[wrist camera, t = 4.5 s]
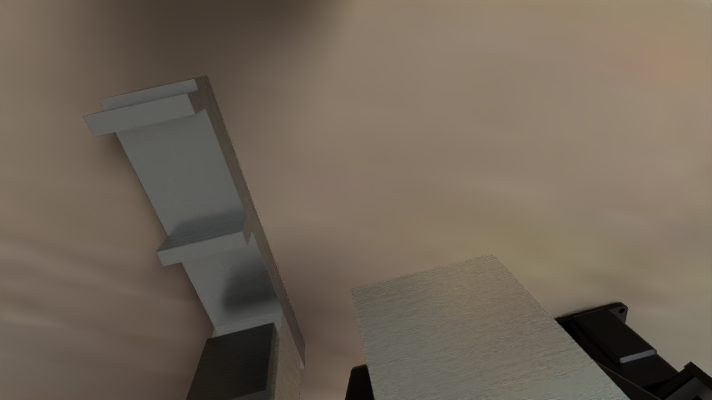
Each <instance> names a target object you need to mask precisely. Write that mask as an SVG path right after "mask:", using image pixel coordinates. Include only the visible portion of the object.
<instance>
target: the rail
mask: <svg viewBox="0 0 712 400" xmlns="http://www.w3.org/2000/svg"><path fill="white" fill-rule="evenodd" d="M99 101H100V103H101V105H102V107H103V109H104V111H101V112H97V113H94V114H90V115H87V116H83V118H84V120H85V122H86V123H87V125H88V127H89V129H90V131H91V133H92V135H93V136H94V137H96V136H100V135H105V134H109V133H113V132H115V133H116V135H117V137H118V139H119V141H120V143H121V145H122V147H123V149H124V150H125V152H126V154H127V156H128V158H129V160H130V162H131V164H132V166H133V168H134V170H135V172H136V174H137V176H138V178H139V180H140V182H141V184H142V186H143V188H144V190H145V192H146V194H147V196H148V198H149V200H150V202H151V204H152V205H153V207H154V209H155V211H156V213H157V215H158V217H159V219H160V221H161V223H162V225H163V227H164V229H165V231H166V233H167V235H168V237H167V238H166V240H165V241H164V243H163V244H162V245H161V247H160V248H159V249H158V251H157V252H156V253H157V255H158V257H159V259H160V261H161V262H162V264H163V266H167V265H172V264H176V263H180V262H182V264H183V266H184V268H185V270H186V272H187V274H188V276H189V278H190V280H191V282H192V284H193V286H194V288H195V290H196V292H197V294H198V296H199V298H200V300H201V302H202V304H203V306H204V308H205V310H206V312H207V314H208V316H209V318H210V319H211V321H212V323H213V325H214V330H213V333H212V336H211V338H210V339H207V341H206V344H205V347H204V350H203V353H202V355H201V358H200V361H199V364H198V367H197V370H196V373H195V376H194V379H193V382H192V385H191V388H190V390H189V393H188V396H187V399H186V400H300V369H304V368H305V344H304V341H303V338H302V335H301V333H300V330H299V327H298V324H297V322H296V319H295V316H294V313H293V311H292V308H291V305H290V303H289V300H288V297H287V294H286V292H285V289H284V286H283V283H282V281H281V278H280V275H279V272H278V270H277V267H276V264H275V262H274V259H273V256H272V253H271V251H270V248H269V245H268V242H267V240H266V237H265V234H264V231H263V229H262V226H261V223H260V220H259V218H258V215H257V212H256V210H255V207H254V204H253V201H252V199H251V196H250V193H249V190H248V188H247V185H246V182H245V179H244V177H243V174H242V171H241V169H240V166H239V163H238V160H237V158H236V155H235V152H234V149H233V147H232V144H231V141H230V138H229V136H228V133H227V130H226V127H225V125H224V122H223V119H222V117H221V114H220V111H219V108H218V106H217V103H216V100H215V97H214V95H213V92H212V89H211V86H210V84H209V81H208V78H207V76H204V77H199V78H195V79H190V80H186V81H181V82H176V83H172V84H167V85H163V86H158V87H154V88H149V89H145V90H140V91H136V92H131V93H127V94H122V95H118V96H113V97H109V98H104V99H100V100H99Z"/></svg>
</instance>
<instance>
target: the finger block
mask: <svg viewBox="0 0 712 400" xmlns="http://www.w3.org/2000/svg"><path fill="white" fill-rule="evenodd" d="M351 293H352V297H353V302H354V306H355V311H356V316H357V320H358V325H359V329H360V334H361V339H362V343H363V348H364V352H365V357H366V362H367V366H368V371H369V375H370V380H371V385H372V389H373V394H374V398H375V400H630V399H629V398H628V397H627V396H626V395H625V394H624V393H623V392H622V391H621V390H620V389H619V387H618V386H617V385H616V384H615V383H614V382H613V381H612V380H611V379H610V378H609V377H608V376H607V375H606V374H605V373H604V372H603V370H602V369H601V368H600V367H599V366H598V365H597V364H596V363H595V362H594V361H593V360H592V359H591V358H590V357H589V356H588V354H587V353H586V352H585V351H584V350H583V349H582V348H581V347H580V346H579V345H578V344H577V343H576V342H575V341H574V340H573V339H572V337H571V336H570V335H569V334H568V333H567V332H566V331H565V330H564V329H563V328H562V327H561V326H560V325H559V324H558V323H557V322H556V320H555V319H554V318H553V317H552V316H551V315H550V314H549V313H548V312H547V311H546V310H545V309H544V308H543V307H542V306H541V305H540V303H539V302H538V301H537V300H536V299H535V298H534V297H533V296H532V295H531V294H530V293H529V292H528V291H527V290H526V289H525V288H524V286H523V285H522V284H521V283H520V282H519V281H518V280H517V279H516V278H515V277H514V276H513V275H512V274H511V273H510V272H509V271H508V269H507V268H506V267H505V266H504V265H503V264H502V263H501V262H500V261H499V260H498V259H497V258H496V257H495V256H494V255H493V254H489V255H485V256H481V257H477V258H473V259H469V260H466V261H462V262H458V263H454V264H450V265H446V266H442V267H438V268H434V269H430V270H426V271H422V272H418V273H414V274H410V275H406V276H402V277H398V278H394V279H390V280H386V281H382V282H378V283H374V284H370V285H366V286H362V287H358V288H354V289H351Z"/></svg>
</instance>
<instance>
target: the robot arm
mask: <svg viewBox="0 0 712 400" xmlns="http://www.w3.org/2000/svg"><path fill="white" fill-rule="evenodd" d="M627 311H628V307H627V306H626V305H624V304H623V303H621V302H618V303H614V304H610V305H607V306H603V307H599V308H595V309H592V310H588V311H584V312H580V313H576V314H573V315H569V316H565V317H561V318H558V319H555V320H556V322H557V323H558V324H559V325H560V326H561V327H562V328H563V329H564V330H565V331H566V332H567V333H568V334H569V335H570V336H571V337H572V339H573V340H574V341H575V342H576V343H577V344H578V345H579V346H580V347H581V348H582V349H583V350H584V351H585V352H586V353H587V354H588V356H589V357H590V358H591V359H592V360H593V361H594V362H595V363H596V364H597V365H598V366H599V367H600V368H601V369H602V370H603V372H604V373H605V374H606V375H607V376H608V377H609V378H610V379H611V380H612V381H613V382H614V383H615V384H616V385H617V386H618V387H619V389H620V390H621V391H622V392H623V393H624V394H625V395H626V396H627V397H628V398H629V399H630V400H712V378H711V377H710V376H708V375H707V374H706V373H705V372H703V371H702V370H701V369H700V368H698V367H697V366H696V365H695V364H693V363H692V362H691V361H690V362H689V363H688V364H686V365H685V366H684V369H683V370H682V371H680V372H678V371H677V370H676V369H675V368H673V367H672V366H671V365H670V364H669V363H668V362H666V361H665V360H664V359H663V358H662V357H660V356H659V355H658V354H657V351H656V349H655V348H653V347H652V346H651V345H650V344H649V343H648V342H646V341H645V340H644V339H643V338H642V337H640V336H639V335H638V334H637V333H636V332H635V331H633V330H632V329H631V328H630V327H629V326H627V325H626V324H625V322H626V316H627ZM345 400H375V398H374V394H373V389H372V385H371V380H370V375H369V371H368V366H367V365H366V364H364V365H360V366H356V367H353V368H352V370H351V374H350V379H349V383H348V388H347V392H346V397H345Z"/></svg>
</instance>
